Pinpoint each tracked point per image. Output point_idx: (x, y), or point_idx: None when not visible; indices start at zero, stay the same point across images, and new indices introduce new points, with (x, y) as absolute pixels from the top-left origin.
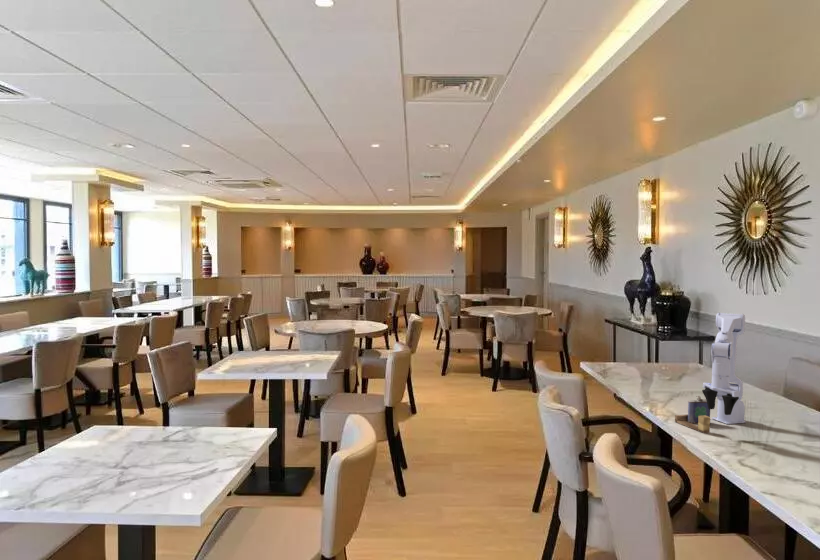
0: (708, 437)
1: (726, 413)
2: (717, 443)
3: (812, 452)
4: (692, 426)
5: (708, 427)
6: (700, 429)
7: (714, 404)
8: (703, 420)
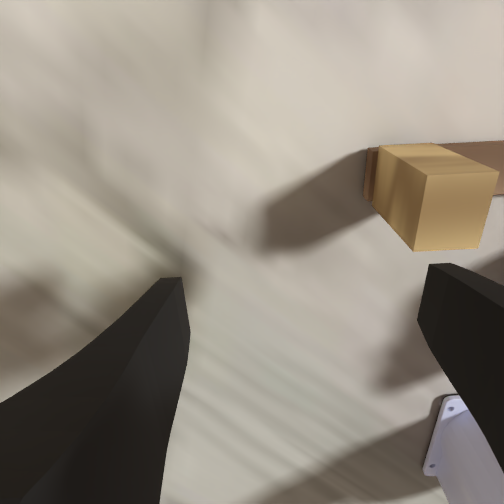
0: (286, 112)
1: (151, 288)
2: (145, 70)
3: None
4: (495, 144)
5: (381, 202)
6: (407, 144)
7: (445, 364)
8: (414, 167)
